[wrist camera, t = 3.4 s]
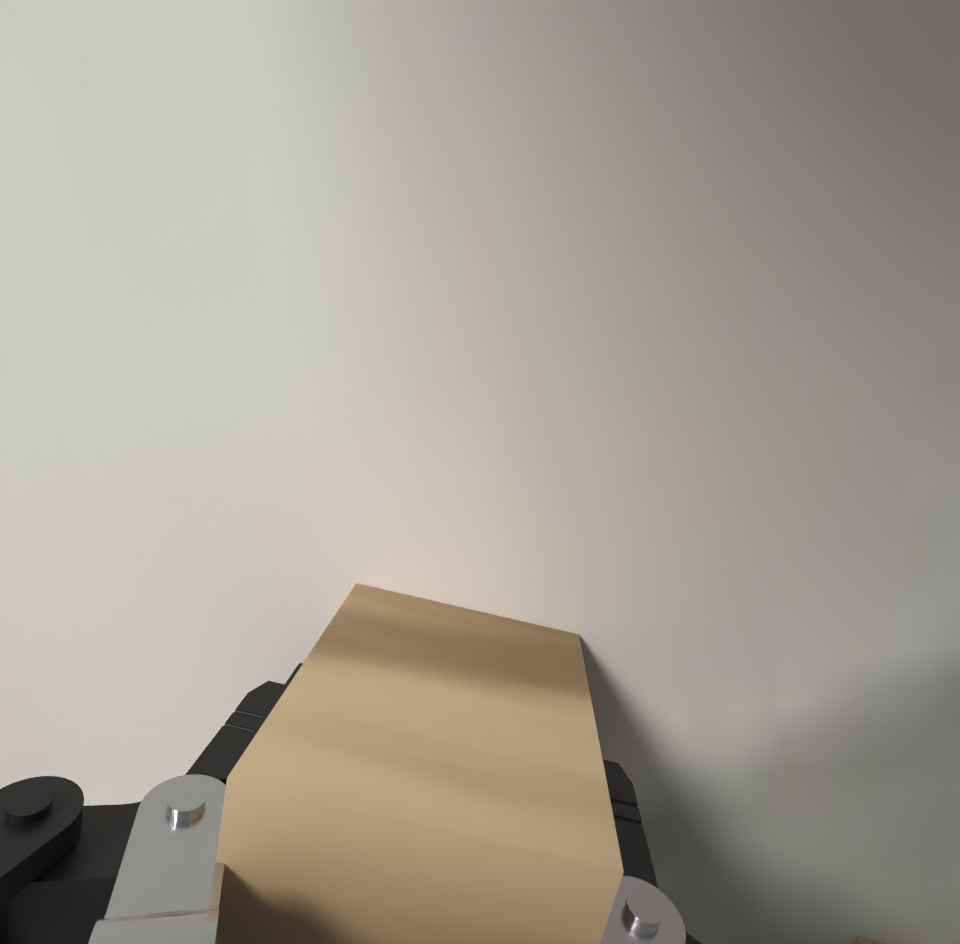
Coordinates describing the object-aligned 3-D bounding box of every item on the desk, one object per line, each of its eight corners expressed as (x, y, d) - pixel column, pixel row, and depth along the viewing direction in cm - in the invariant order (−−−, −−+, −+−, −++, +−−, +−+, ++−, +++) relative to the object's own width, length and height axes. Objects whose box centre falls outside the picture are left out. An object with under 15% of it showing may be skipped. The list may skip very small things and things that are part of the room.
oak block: (356, 583, 13) (227, 777, 8) (579, 634, 13) (624, 871, 7) (322, 773, 14) (186, 1070, 9) (526, 822, 14) (529, 1154, 9)
